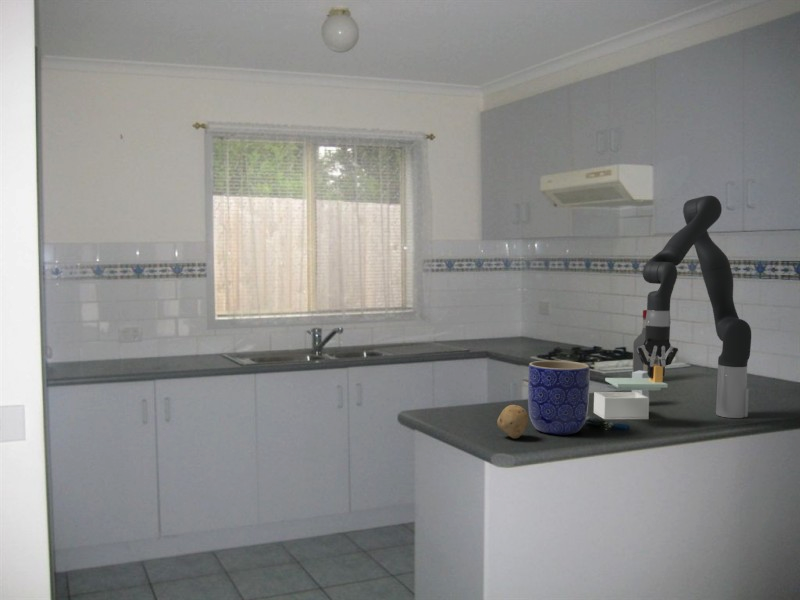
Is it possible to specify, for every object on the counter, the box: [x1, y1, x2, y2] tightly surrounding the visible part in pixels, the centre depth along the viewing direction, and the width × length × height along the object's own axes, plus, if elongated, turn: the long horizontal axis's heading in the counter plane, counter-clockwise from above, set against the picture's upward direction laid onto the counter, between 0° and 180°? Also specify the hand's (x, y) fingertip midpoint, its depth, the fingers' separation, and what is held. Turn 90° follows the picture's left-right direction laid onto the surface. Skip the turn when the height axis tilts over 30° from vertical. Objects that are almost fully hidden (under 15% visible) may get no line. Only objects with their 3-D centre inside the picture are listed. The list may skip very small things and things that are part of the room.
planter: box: [527, 360, 591, 436], centre depth 260 cm, size 18×18×21 cm
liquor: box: [632, 309, 659, 372], centre depth 357 cm, size 9×9×30 cm
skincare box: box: [631, 370, 650, 399], centre depth 305 cm, size 6×4×12 cm
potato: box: [496, 404, 529, 439], centre depth 250 cm, size 9×9×10 cm
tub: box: [593, 391, 650, 420], centre depth 285 cm, size 15×11×7 cm
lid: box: [604, 365, 669, 391], centre depth 271 cm, size 16×12×7 cm
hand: (655, 377), depth 272 cm, fingers closed on lid, 2 cm apart
